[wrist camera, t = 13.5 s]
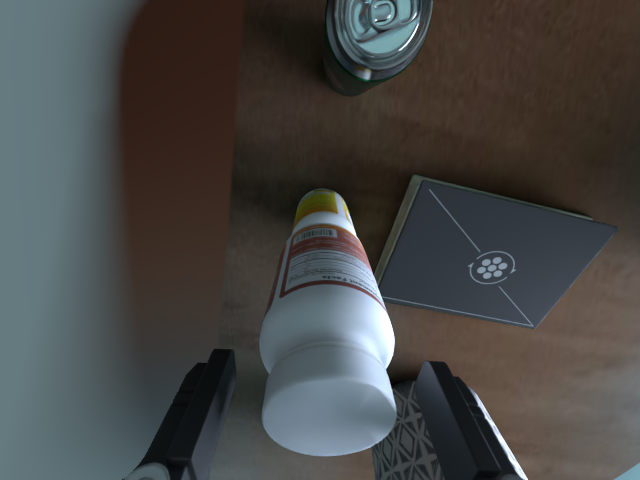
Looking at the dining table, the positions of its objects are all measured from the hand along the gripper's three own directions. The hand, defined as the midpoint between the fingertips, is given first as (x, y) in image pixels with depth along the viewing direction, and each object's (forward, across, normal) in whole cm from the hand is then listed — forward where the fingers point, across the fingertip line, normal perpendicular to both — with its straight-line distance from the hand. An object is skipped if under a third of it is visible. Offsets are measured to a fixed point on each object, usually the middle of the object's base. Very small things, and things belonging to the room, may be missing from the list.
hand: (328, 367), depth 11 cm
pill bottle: (+9, 0, 0) cm, 9 cm away
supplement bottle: (+19, 0, 0) cm, 19 cm away
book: (+19, -19, +4) cm, 27 cm away
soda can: (+19, -1, -14) cm, 24 cm away
